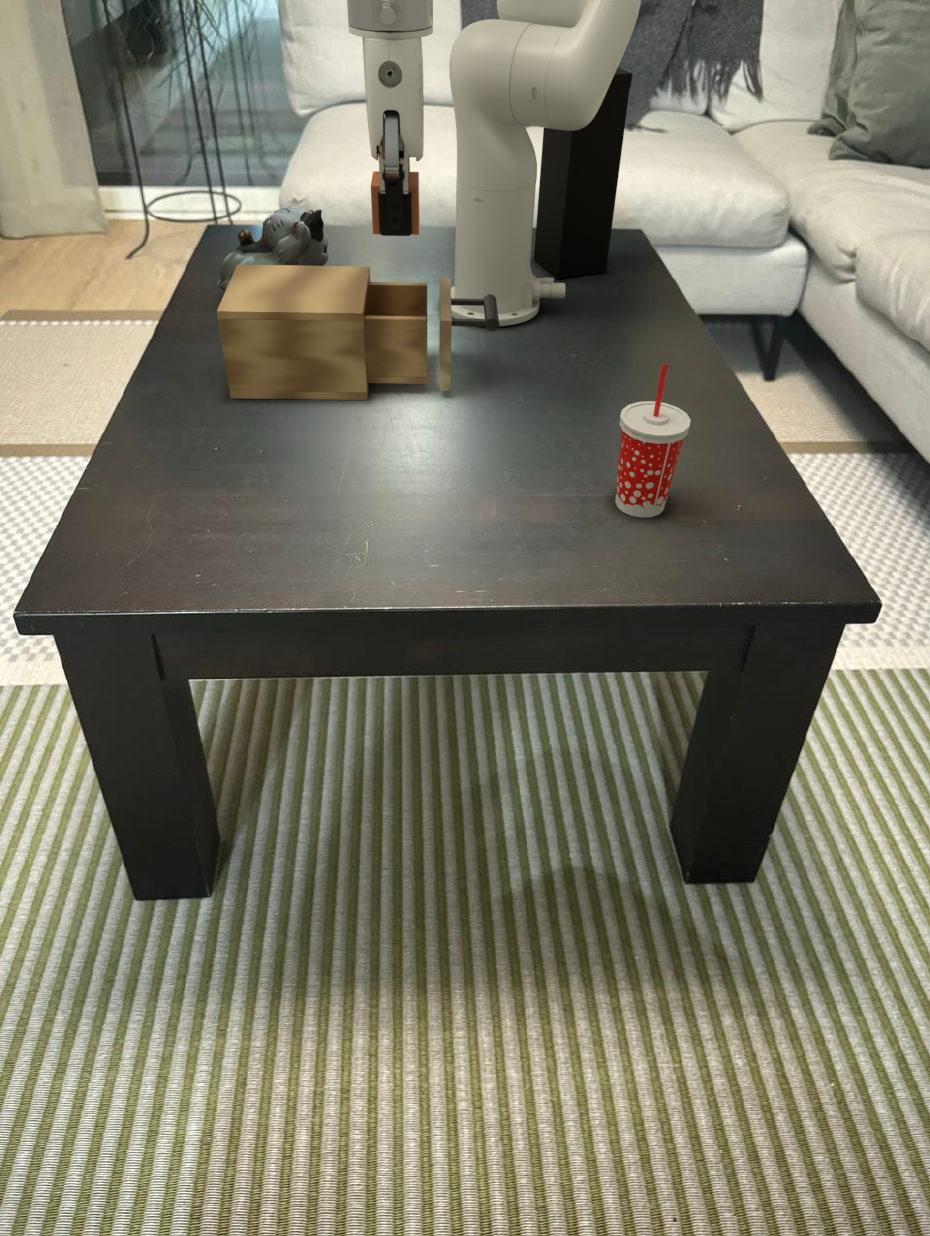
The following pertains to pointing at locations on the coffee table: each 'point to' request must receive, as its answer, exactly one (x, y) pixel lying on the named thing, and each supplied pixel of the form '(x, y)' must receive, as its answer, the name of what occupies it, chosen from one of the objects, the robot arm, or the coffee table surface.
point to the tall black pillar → (581, 188)
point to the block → (414, 189)
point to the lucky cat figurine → (281, 243)
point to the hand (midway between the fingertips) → (396, 223)
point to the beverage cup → (649, 453)
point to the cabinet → (295, 332)
